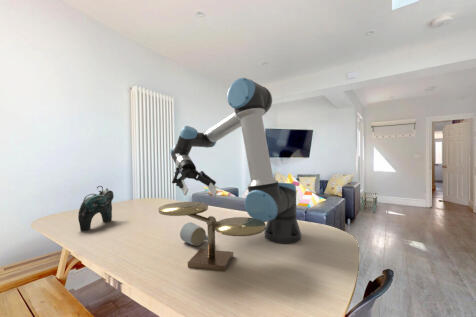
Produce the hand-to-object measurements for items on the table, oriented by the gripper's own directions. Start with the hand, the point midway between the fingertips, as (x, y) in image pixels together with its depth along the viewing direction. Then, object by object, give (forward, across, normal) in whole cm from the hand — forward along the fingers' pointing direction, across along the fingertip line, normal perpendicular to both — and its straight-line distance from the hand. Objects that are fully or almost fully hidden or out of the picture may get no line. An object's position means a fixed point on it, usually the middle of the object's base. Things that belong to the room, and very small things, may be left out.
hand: (201, 193), depth 88 cm
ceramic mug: (+10, -1, -18) cm, 20 cm away
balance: (+25, +3, -8) cm, 27 cm away
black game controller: (-34, +27, -49) cm, 65 cm away
